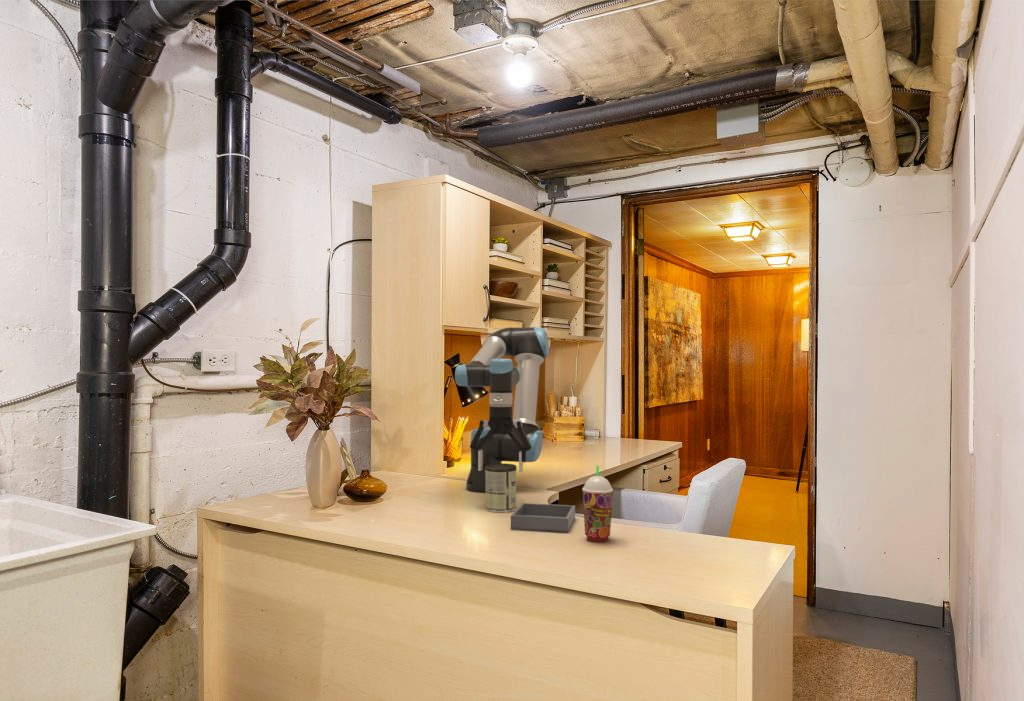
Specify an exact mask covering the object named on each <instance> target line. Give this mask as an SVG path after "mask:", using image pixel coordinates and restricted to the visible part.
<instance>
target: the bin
mask: <svg viewBox="0 0 1024 701" xmlns="http://www.w3.org/2000/svg"><path fill="white" fill-rule="evenodd" d="M516 508H517V509H516V510H514V511H513V512H512V513H511V515H510V530H513V531H531V532H545V533H546V532H548V533H564V534H568V533H569V532H570V529H571V527H572V526H573V524H574V522H575V520H576V505H570V504H569V505H567V504H549V503H548V504H546V503H531V502H528V503H527V502H522V503H521V504H520V505H519V506H518V507H516ZM574 519H575V520H574ZM573 521H574V522H573ZM572 523H573V524H572ZM571 525H572V526H571Z"/></svg>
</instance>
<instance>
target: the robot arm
mask: <svg viewBox="0 0 1024 701" xmlns="http://www.w3.org/2000/svg"><path fill="white" fill-rule="evenodd" d="M549 355H550V346H549V338H548V334H547V331H546V329H545V328H543V327H535V326H533V327H532V326H531V327H529V326H528V327H524V326H523V327H504V328H501V329H498V330H496V331H494V332H492V333H491V334H490V335H488V336H487V337H486V338H485V339H484V340H483V342H482V347H481V348H480V349H479V351H478V352H477V353H476V354H475V355H474V356H473V358H472V359H471V360H470V361H469V362H468V364H465V363H464V364H459V365H456V367H455V371H454V380H455V383H456V385H457V386H458V387H467V388H468V387H486V388H487V387H489V398H488V399H489V400H488V401H489V405H490V406H489V408H488V409H489V417H488V418H489V419H488V420H484V419H481V420H480V421H479V424H478V428H474V429H473V430H472V431H471V434H470V442H469V443H470V445H469V449H470V469H469V473H468V476H467V479H466V481H465V482H466V484H465V485H466V486H465V488H466V490H467V491H470V492H474V493H475V492H476V493H477V492H478V493H486V475H485V466H486V465H489V464H499V463H503V462H512V463H514V462H515V463H518V473H523V472H524V463H535V462H536V461H538V459H539V458H540V455H541V452H542V447H543V443H544V442H543V438H544V436H543V435H544V434H543V432H542V431H541V430H540V426H539V425H538V424H537V423H536V418H537V417H536V416H537V407H538V406H537V404H538V392H539V381H540V380H539V379H540V366H541V364H543V363H544V362H545V358H547V357H549ZM504 357H514V361H515V362H516V363H517V366H515V365H514V364H513V360H512V359H511V358H504ZM513 387H515V391H514V402H513ZM512 405H513V407H512Z"/></svg>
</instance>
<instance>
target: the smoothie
mask: <svg viewBox="0 0 1024 701" xmlns="http://www.w3.org/2000/svg"><path fill="white" fill-rule="evenodd" d="M599 467H600V466H599V465H596V466H595V468H596V470H595V471H596V472H595V474H596V475H593V476H591V477H589V478H588V479H587V480H586V481H585V483H584V485H583V487H582V489H581V491H582V503H583V505H582V506H583V519H584V520H583V522H584V535H585V536H586V539H587V541H590V542H593V541H596V542H595V543H604V542H607V541H608V540H609V537H610V536H611V526H612V509H613V493H614V492H613V491H614V488H613V487H612V485H611V483H610V481H609V480H608V479H607V478H605V477H604V476H602V475H599V474H600V472H599V471H600V468H599ZM601 541H602V542H601ZM603 541H604V542H603Z"/></svg>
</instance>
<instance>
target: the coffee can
mask: <svg viewBox="0 0 1024 701" xmlns="http://www.w3.org/2000/svg"><path fill="white" fill-rule="evenodd" d="M517 467H518V466H517V465H516V464H513V463H503V462H502V463H499V464H489V465H486V466H485V475H486V492H485V511H487V512H491V513H511V512H514V511H515V510H516V509H517V508H518V507H517Z"/></svg>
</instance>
